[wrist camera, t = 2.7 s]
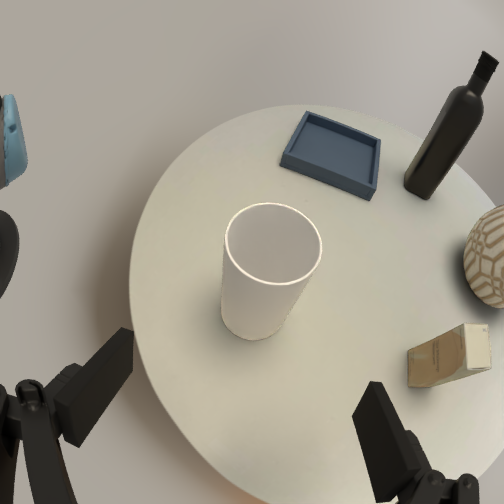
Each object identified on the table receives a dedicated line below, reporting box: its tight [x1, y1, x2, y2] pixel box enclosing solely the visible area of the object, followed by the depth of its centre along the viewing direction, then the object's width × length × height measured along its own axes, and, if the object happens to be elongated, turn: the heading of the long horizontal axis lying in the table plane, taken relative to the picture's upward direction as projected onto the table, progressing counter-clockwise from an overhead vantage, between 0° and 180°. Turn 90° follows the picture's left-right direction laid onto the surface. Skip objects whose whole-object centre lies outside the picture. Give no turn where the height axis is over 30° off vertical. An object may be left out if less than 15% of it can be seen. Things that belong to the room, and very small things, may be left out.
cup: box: [221, 203, 322, 340], centre depth 28 cm, size 7×7×14 cm
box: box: [408, 323, 492, 387], centre depth 27 cm, size 5×4×11 cm
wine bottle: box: [404, 51, 499, 199], centre depth 37 cm, size 6×6×30 cm
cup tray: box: [280, 111, 381, 201], centre depth 49 cm, size 16×16×3 cm
